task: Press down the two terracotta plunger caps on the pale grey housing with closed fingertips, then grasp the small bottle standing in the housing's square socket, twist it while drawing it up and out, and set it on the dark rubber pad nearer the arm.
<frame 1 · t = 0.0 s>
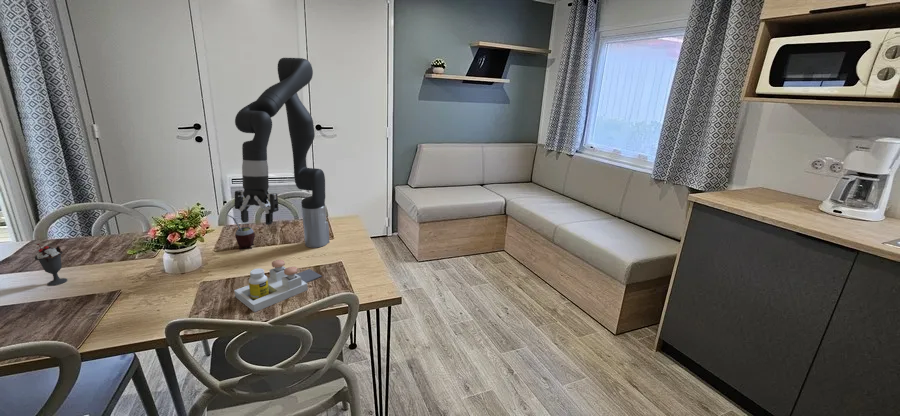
hand: (257, 223, 128), 22 cm above the table, tool pointing down, fingers open, 8 cm apart
pad: (305, 277, 140), on the table
plunger b: (291, 274, 128), point 6 cm above the table, slide at 0.0 cm
mate gourd: (245, 247, 163), on the table
housing: (272, 293, 129), on the table
plunger a: (278, 267, 133), point 6 cm above the table, slide at 0.0 cm
sundae: (57, 282, 132), on the table
supplement bottle: (260, 298, 126), resting in housing
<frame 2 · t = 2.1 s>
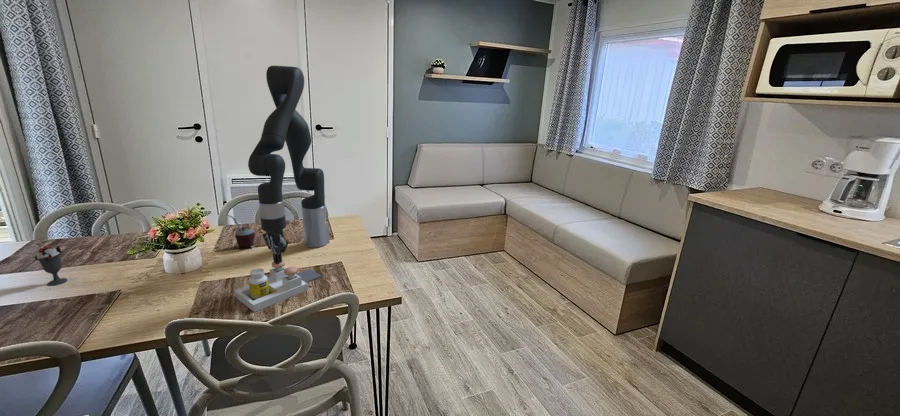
hand: (278, 262, 132), 8 cm above the table, tool pointing down, fingers closed
plunger a: (278, 267, 133), point 6 cm above the table, slide at 0.1 cm, touching gripper
everything else where it was.
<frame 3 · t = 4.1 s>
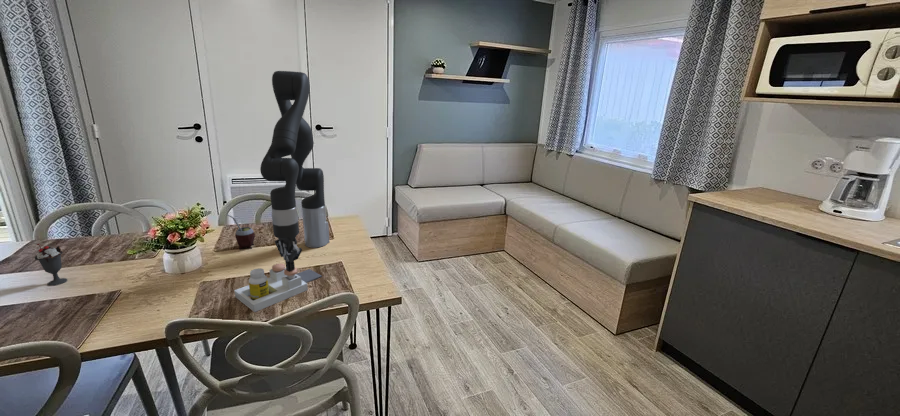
hand: (290, 270, 128), 8 cm above the table, tool pointing down, fingers closed
plunger b: (291, 275, 128), point 6 cm above the table, slide at 0.2 cm, touching gripper
plunger a: (279, 271, 134), point 5 cm above the table, slide at 1.4 cm
everything else where it was.
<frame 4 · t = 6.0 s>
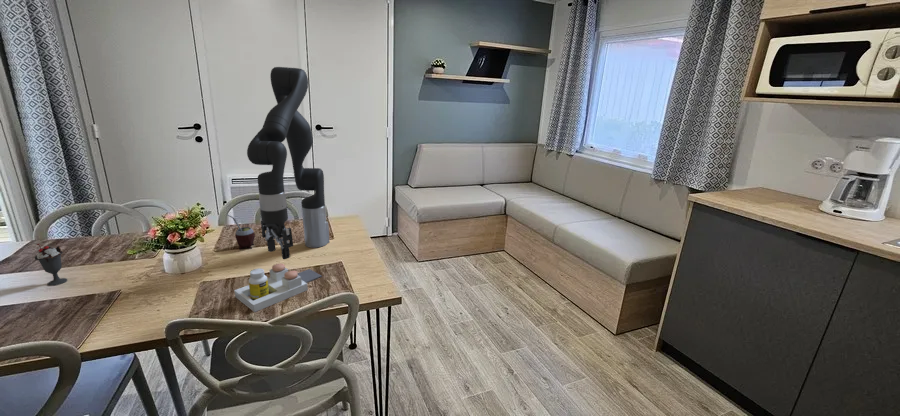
hand: (278, 254, 124), 14 cm above the table, tool pointing down, fingers open, 8 cm apart
plunger b: (291, 278, 129), point 5 cm above the table, slide at 1.4 cm
everything else where it was.
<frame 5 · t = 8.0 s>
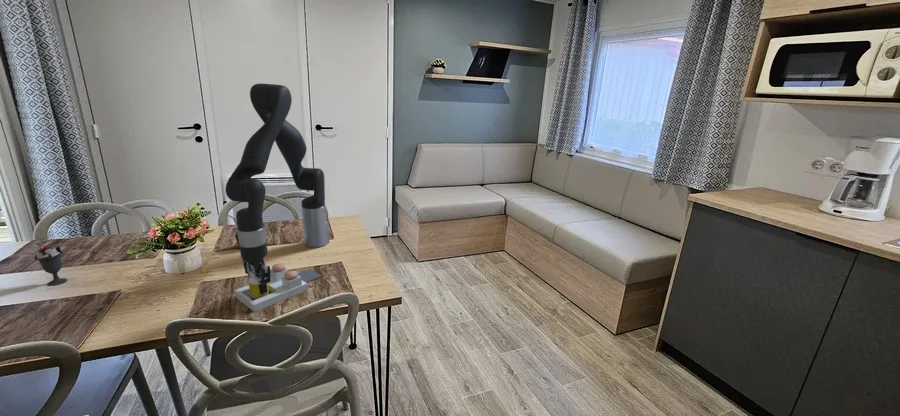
hand: (259, 289, 125), 3 cm above the table, tool pointing down, fingers closed on supplement bottle, 5 cm apart
supplement bottle: (260, 298, 126), resting in housing, touching gripper
everything else where it was.
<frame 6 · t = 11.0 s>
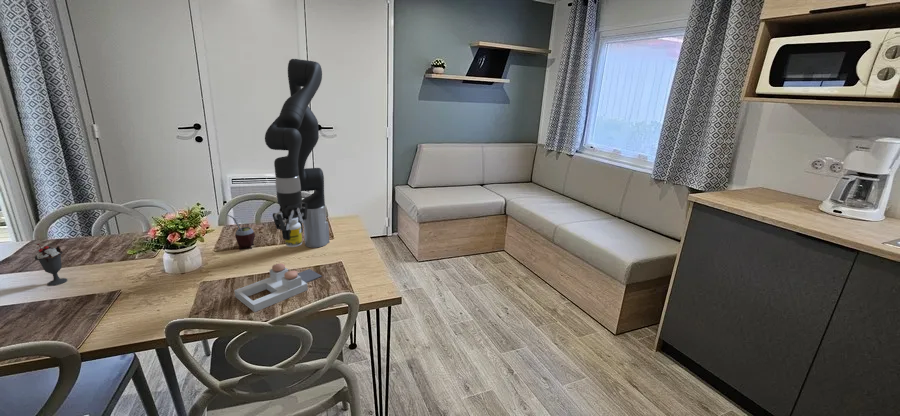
hand: (293, 236, 133), 17 cm above the table, tool pointing down, fingers closed on supplement bottle, 5 cm apart
supplement bottle: (294, 244, 134), point 13 cm above the table, touching gripper
everything else where it was.
when the fingers open (4 cm above the table, at t = 14.2 s): supplement bottle stays where it is, resting on pad.
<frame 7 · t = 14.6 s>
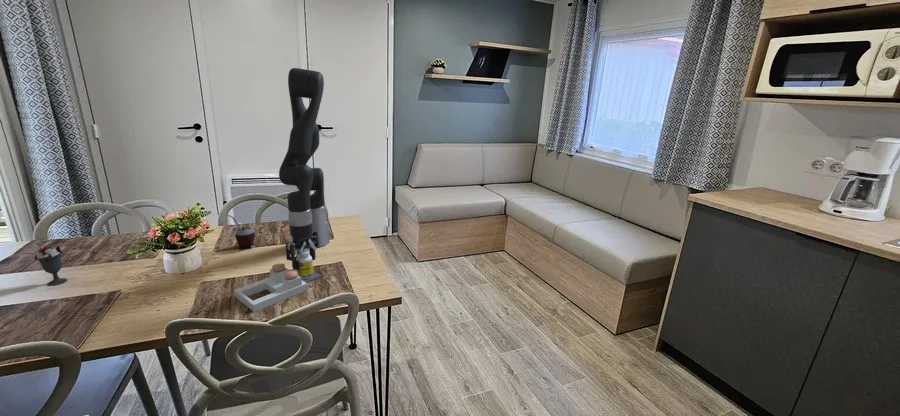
hand: (304, 264, 139), 5 cm above the table, tool pointing down, fingers open, 8 cm apart
supplement bottle: (305, 276, 140), resting on pad
everything else where it was.
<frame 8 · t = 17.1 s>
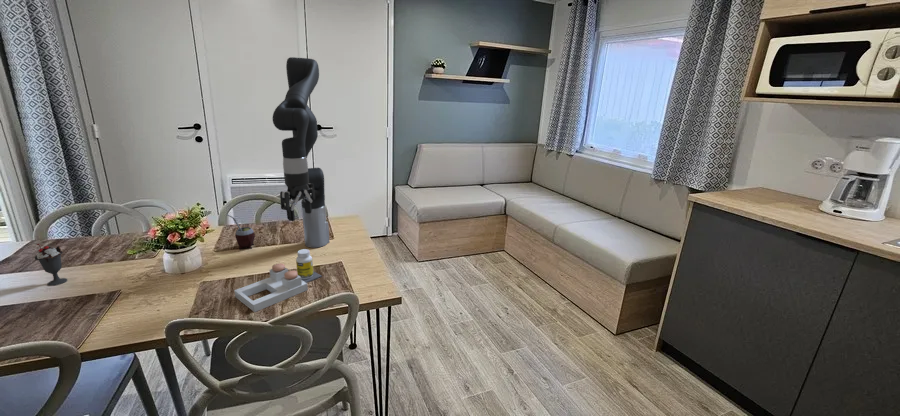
hand: (300, 216, 133), 23 cm above the table, tool pointing down, fingers open, 8 cm apart
nothing on the table moved.
at the end: supplement bottle inside the target area (0.1 cm from its centre), resting on pad; plunger a slide at 1.4 cm; plunger b slide at 1.4 cm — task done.
